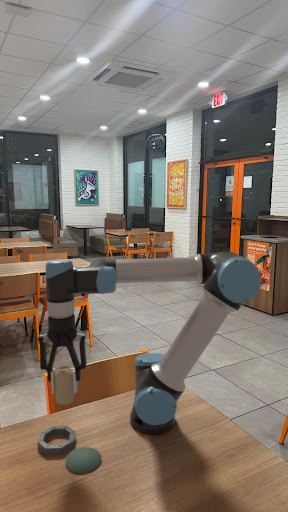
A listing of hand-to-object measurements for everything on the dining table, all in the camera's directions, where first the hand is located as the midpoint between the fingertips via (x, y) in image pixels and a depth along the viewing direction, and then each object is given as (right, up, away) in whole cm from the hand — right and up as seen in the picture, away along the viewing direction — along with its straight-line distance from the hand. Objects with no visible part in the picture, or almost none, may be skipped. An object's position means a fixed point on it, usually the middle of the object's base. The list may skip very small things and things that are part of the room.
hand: (64, 390), depth 104 cm
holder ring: (-3, -18, +5) cm, 19 cm away
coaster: (+6, -19, -3) cm, 20 cm away
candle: (0, -3, 0) cm, 3 cm away
